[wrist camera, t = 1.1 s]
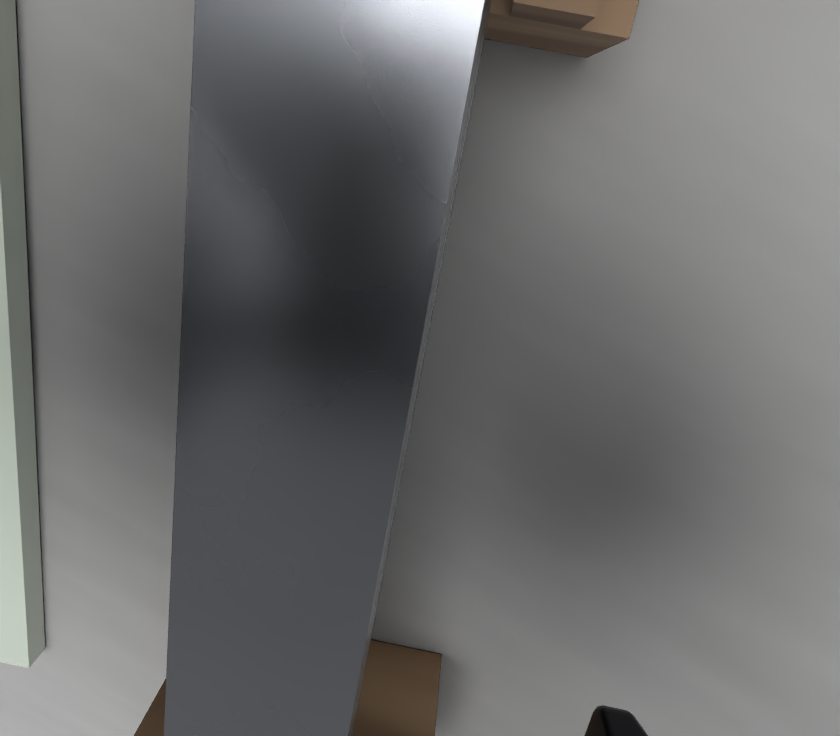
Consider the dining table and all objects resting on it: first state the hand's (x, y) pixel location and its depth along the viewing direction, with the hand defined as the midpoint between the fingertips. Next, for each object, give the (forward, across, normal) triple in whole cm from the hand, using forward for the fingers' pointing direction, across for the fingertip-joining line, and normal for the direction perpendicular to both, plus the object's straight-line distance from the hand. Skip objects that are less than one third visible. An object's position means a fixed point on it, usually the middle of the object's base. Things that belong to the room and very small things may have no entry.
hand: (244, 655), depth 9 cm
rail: (+4, 0, 0) cm, 4 cm away
